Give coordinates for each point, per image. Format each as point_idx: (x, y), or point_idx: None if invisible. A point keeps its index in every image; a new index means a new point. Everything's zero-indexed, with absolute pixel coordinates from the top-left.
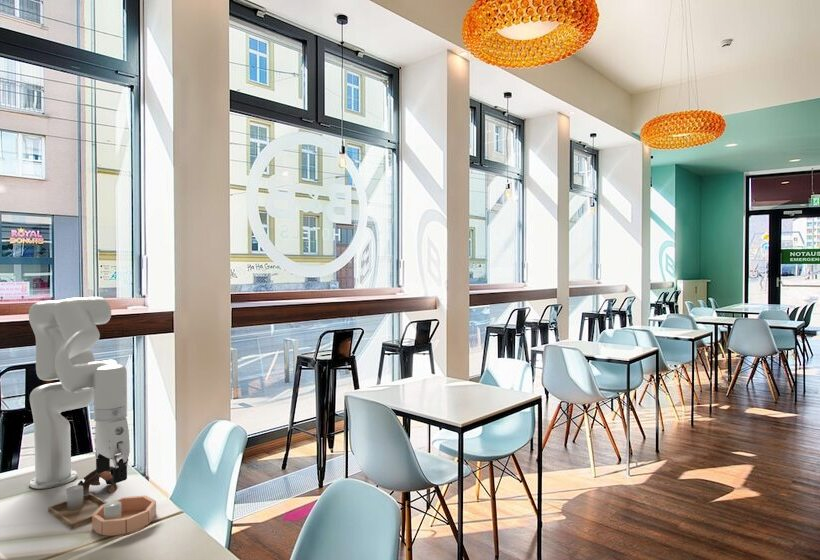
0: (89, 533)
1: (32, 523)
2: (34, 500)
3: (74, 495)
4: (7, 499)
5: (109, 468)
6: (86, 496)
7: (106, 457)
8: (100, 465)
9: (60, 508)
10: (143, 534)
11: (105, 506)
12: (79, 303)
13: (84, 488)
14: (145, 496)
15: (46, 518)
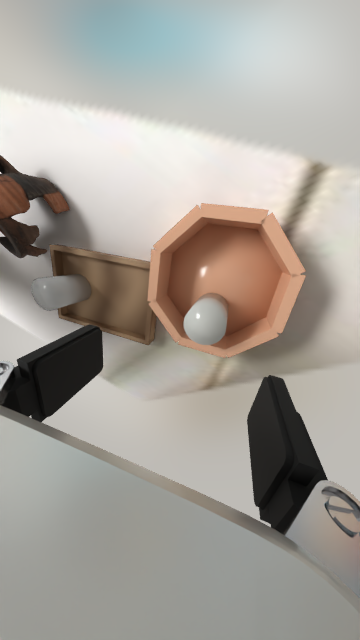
0: None
1: None
2: (12, 294)
3: (65, 302)
4: None
5: (97, 330)
6: (56, 256)
7: (42, 380)
8: (78, 380)
9: None
10: (308, 299)
11: (196, 338)
12: None
13: (33, 253)
14: (204, 208)
15: (82, 325)
